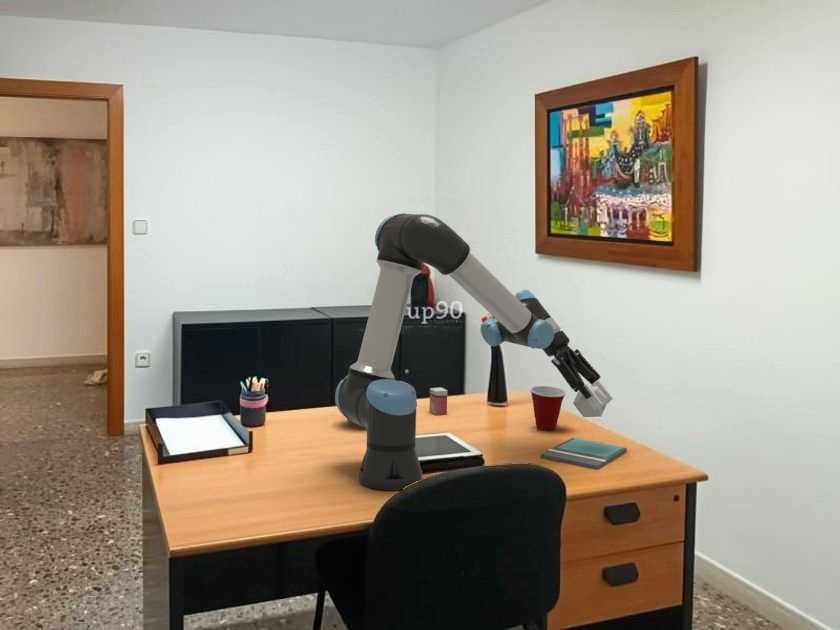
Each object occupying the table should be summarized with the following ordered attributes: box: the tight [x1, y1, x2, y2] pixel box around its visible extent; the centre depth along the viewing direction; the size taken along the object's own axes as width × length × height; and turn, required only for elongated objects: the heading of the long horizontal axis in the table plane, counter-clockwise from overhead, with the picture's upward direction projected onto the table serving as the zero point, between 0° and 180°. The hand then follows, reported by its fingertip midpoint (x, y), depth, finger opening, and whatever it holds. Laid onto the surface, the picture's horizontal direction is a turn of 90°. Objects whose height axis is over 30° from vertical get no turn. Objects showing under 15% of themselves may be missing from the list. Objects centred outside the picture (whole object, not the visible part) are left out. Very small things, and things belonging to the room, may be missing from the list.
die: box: [572, 386, 609, 418], centre depth 218 cm, size 8×9×10 cm
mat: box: [539, 437, 628, 470], centre depth 217 cm, size 20×16×1 cm
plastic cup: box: [529, 385, 567, 432], centre depth 242 cm, size 11×11×12 cm
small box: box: [428, 387, 448, 416], centre depth 259 cm, size 5×4×8 cm
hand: (604, 404), depth 216 cm, fingers closed on die, 7 cm apart
